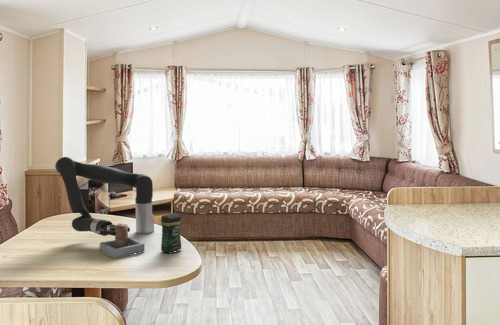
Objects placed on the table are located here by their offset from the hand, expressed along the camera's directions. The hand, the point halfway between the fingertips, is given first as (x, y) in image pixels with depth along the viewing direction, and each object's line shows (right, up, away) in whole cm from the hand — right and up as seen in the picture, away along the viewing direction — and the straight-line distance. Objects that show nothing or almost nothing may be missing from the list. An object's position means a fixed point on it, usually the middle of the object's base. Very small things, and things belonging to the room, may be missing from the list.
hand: (122, 231), depth 206 cm
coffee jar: (+24, -10, +2) cm, 26 cm away
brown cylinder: (0, -9, +1) cm, 9 cm away
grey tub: (0, -10, +1) cm, 10 cm away
